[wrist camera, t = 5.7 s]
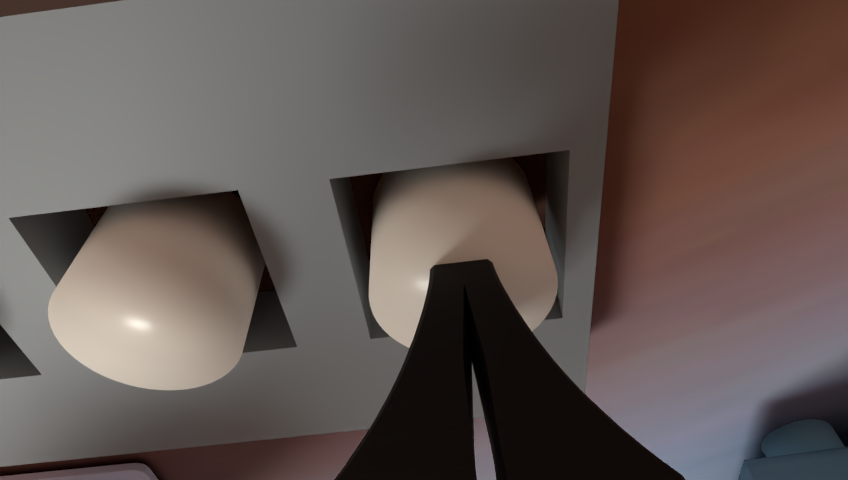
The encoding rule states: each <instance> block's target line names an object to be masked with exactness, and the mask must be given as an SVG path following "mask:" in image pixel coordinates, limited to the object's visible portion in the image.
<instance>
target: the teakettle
mask: <svg viewBox="0 0 848 480" xmlns="http://www.w3.org/2000/svg"><path fill="white" fill-rule="evenodd" d="M761 450H762V452H763V453H764V454H765V455H766V456H767V457H765V458H757V459H750V460H744V463H743V466H742V469H741V473H740V476H739V480H848V447H845V446H844V444H843V443H842V441H841V440H840V438H839V437H838V435H837V434H836V432H835V431H834V429H833V427H832V426H831V425H830V424H829V423H828V422H825V421H823V420H816V419H809V420H801V421H796V422H792V423H789V424H786V425H784V426H781V427H779V428H777V429H776V430H774V431H773V432H771V433H770V434H769V435H767V436H766V437H765V439H764V440H763V442H762V444H761Z"/></svg>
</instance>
